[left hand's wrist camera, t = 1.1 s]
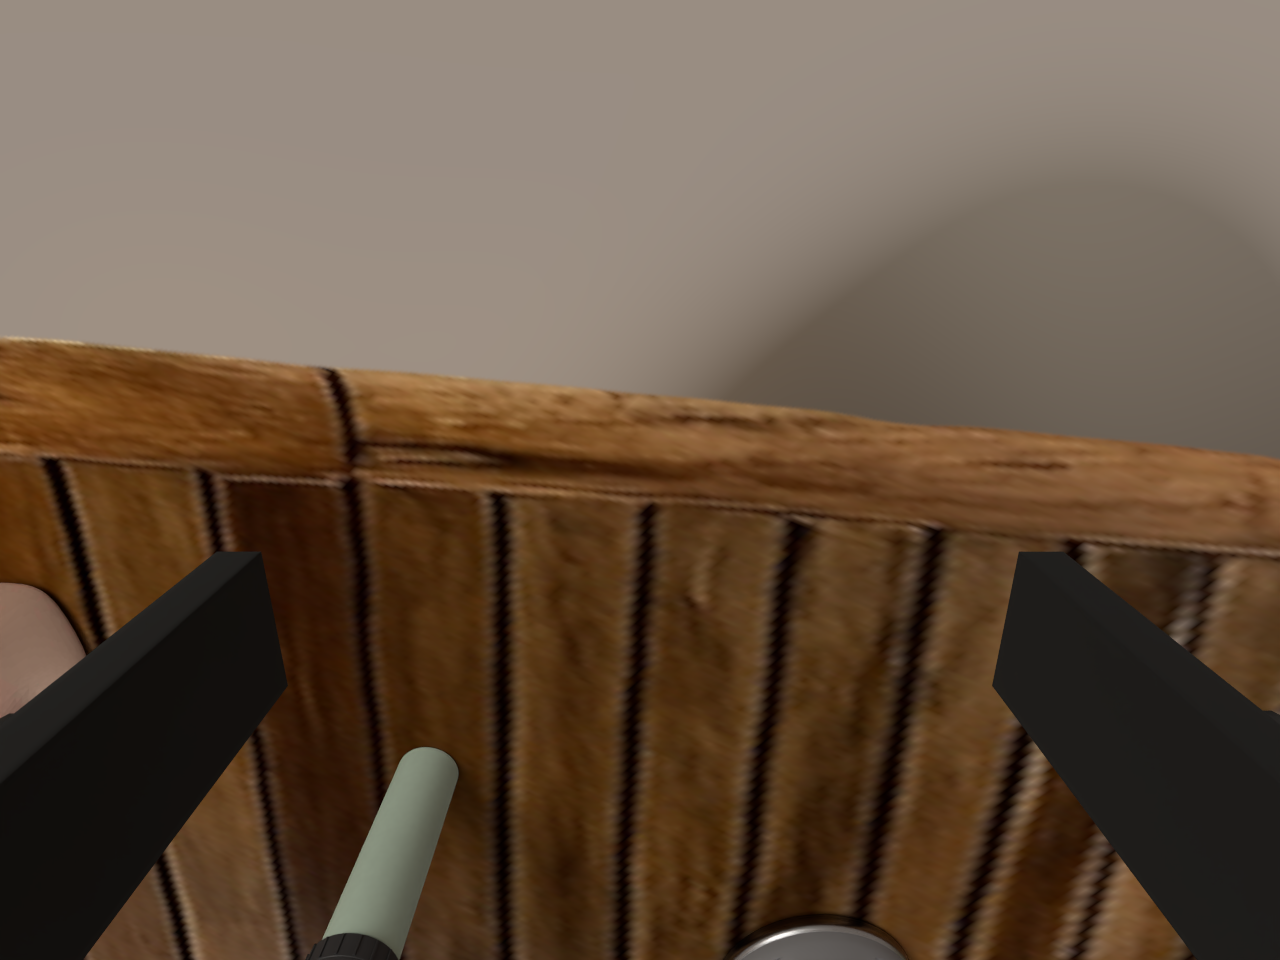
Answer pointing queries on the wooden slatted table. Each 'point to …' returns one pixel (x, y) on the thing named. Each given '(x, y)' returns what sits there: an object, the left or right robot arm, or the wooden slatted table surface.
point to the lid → (351, 948)
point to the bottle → (398, 851)
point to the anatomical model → (32, 645)
